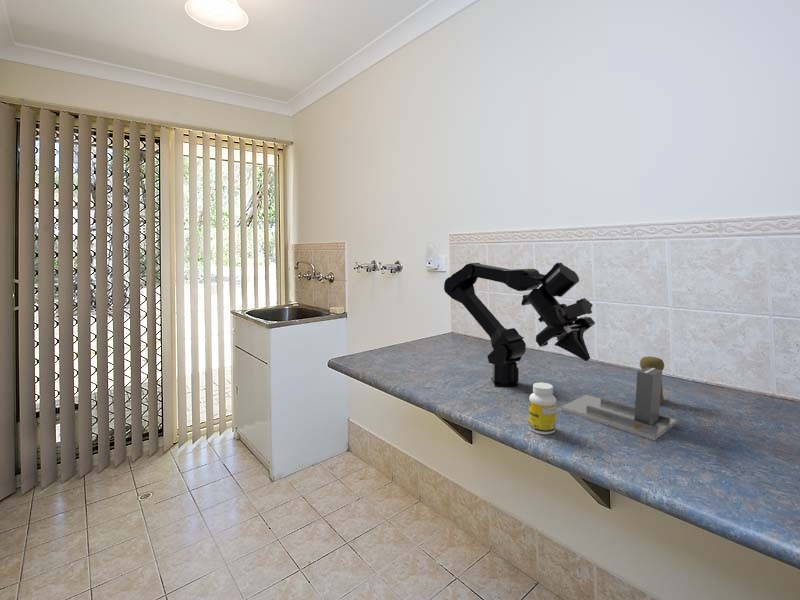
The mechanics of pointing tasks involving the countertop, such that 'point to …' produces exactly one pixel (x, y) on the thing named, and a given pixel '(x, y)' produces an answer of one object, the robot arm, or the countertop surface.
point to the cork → (653, 363)
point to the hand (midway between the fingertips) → (588, 359)
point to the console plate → (617, 416)
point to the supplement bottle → (542, 409)
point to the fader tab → (648, 395)
